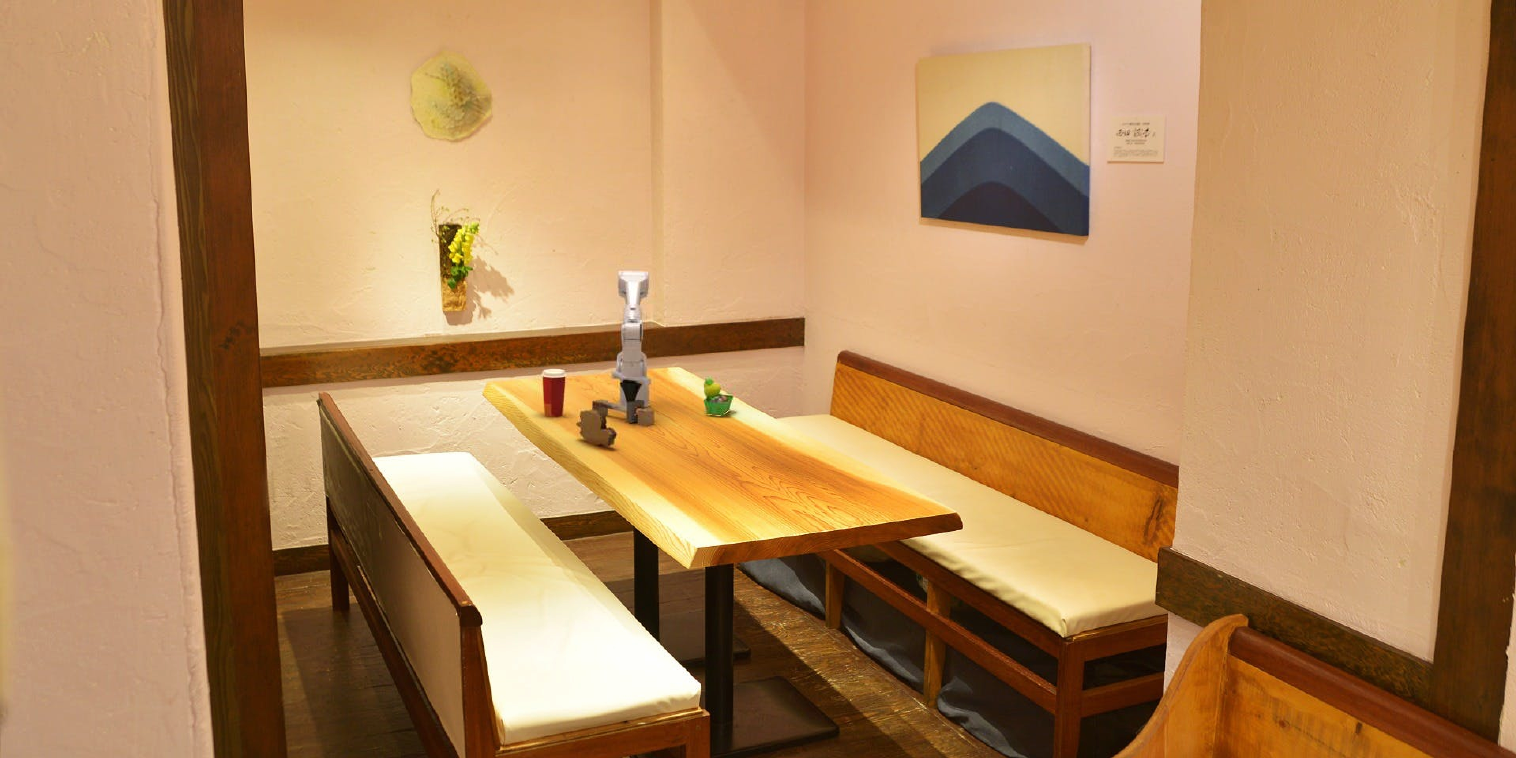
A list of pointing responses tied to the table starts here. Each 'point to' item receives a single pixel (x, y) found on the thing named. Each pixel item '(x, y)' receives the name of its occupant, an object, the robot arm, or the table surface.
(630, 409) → the collar
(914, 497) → the table surface
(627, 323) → the robot arm
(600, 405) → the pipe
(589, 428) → the wooden carving
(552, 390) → the paper cup
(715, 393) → the fruit basket
